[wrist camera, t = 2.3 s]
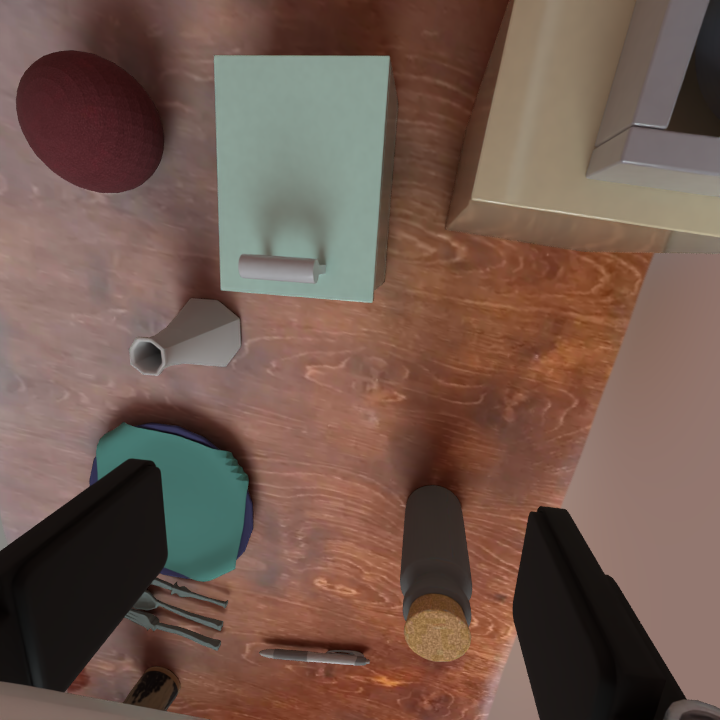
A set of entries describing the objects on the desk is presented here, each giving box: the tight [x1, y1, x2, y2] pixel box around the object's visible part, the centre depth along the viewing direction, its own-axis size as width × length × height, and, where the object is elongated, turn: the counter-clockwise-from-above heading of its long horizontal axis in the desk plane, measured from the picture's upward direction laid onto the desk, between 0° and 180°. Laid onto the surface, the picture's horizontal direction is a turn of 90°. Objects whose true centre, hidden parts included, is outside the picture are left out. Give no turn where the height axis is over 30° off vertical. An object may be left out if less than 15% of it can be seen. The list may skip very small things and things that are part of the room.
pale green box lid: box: [214, 55, 391, 303], centre depth 27 cm, size 16×12×5 cm
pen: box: [259, 649, 370, 665], centre depth 50 cm, size 1×14×1 cm, turn 95°
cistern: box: [445, 0, 720, 254], centre depth 21 cm, size 9×13×27 cm
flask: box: [129, 298, 241, 376], centre depth 37 cm, size 7×7×10 cm
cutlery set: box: [89, 422, 253, 650], centre depth 48 cm, size 20×30×2 cm, turn 168°
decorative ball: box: [16, 50, 164, 193], centre depth 33 cm, size 10×10×10 cm
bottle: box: [400, 485, 472, 662], centre depth 36 cm, size 6×6×15 cm
